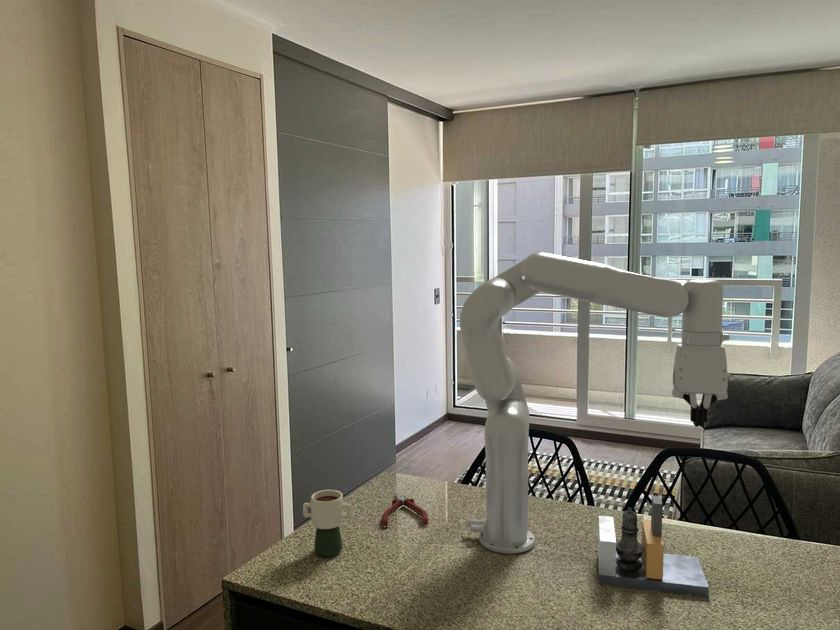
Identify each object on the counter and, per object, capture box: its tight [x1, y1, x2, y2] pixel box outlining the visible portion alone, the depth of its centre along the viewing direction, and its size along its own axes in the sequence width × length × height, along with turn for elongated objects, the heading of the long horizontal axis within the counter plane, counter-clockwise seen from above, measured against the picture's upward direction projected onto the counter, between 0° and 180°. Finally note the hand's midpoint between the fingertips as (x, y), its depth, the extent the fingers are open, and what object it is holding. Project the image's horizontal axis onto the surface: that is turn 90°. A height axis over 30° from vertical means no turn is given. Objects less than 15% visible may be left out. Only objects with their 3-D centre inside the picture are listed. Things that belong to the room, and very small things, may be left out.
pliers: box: [381, 491, 429, 527], centre depth 158 cm, size 12×20×3 cm, turn 4°
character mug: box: [302, 489, 353, 557], centre depth 136 cm, size 11×7×13 cm, turn 86°
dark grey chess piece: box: [616, 506, 644, 570], centre depth 126 cm, size 6×6×12 cm
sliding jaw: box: [641, 495, 665, 580], centre depth 124 cm, size 3×11×14 cm, turn 165°
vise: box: [597, 515, 710, 598], centre depth 125 cm, size 20×12×9 cm, turn 75°
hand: (698, 425), depth 129 cm, fingers closed
